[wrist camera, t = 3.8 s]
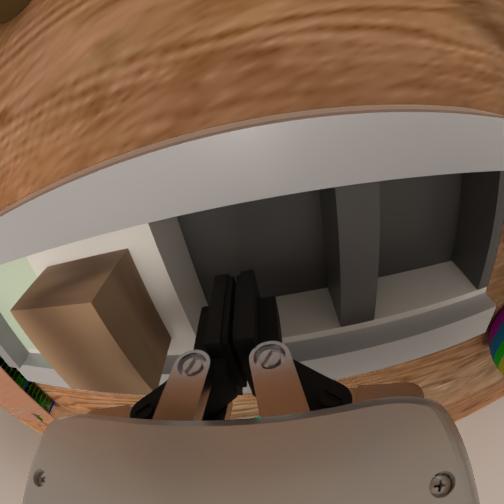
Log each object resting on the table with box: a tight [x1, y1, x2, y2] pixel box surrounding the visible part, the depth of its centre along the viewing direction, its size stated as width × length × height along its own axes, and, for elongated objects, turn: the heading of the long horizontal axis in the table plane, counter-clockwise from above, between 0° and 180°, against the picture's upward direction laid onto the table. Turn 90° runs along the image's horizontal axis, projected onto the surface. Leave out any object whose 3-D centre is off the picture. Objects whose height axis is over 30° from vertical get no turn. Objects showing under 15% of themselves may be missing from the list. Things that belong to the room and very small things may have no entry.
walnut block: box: [10, 248, 171, 395], centre depth 12 cm, size 6×6×4 cm
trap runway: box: [0, 104, 504, 395], centre depth 15 cm, size 38×14×6 cm, turn 101°
